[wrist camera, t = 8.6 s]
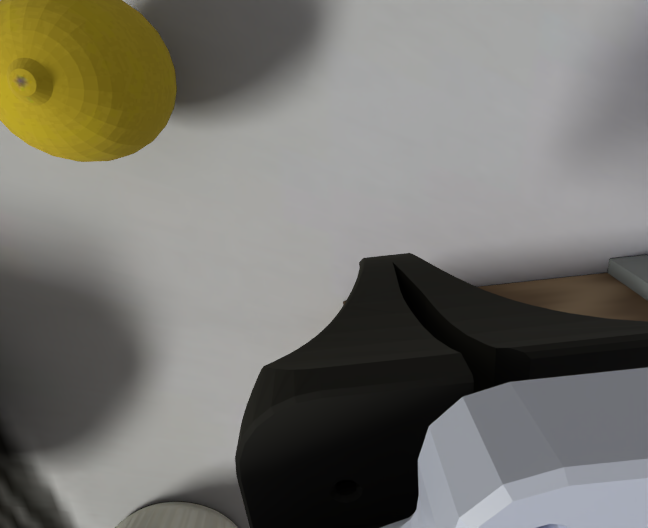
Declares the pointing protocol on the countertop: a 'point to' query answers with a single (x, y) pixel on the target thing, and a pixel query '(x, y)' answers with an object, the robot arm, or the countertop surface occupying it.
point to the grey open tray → (631, 273)
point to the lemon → (83, 77)
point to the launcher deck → (578, 296)
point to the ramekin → (176, 517)
